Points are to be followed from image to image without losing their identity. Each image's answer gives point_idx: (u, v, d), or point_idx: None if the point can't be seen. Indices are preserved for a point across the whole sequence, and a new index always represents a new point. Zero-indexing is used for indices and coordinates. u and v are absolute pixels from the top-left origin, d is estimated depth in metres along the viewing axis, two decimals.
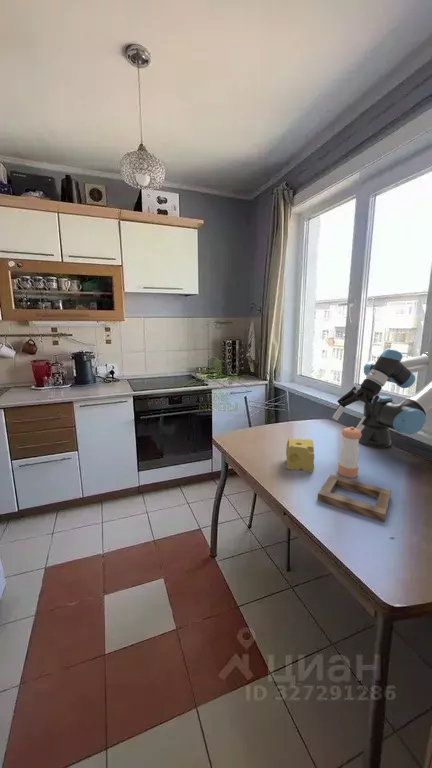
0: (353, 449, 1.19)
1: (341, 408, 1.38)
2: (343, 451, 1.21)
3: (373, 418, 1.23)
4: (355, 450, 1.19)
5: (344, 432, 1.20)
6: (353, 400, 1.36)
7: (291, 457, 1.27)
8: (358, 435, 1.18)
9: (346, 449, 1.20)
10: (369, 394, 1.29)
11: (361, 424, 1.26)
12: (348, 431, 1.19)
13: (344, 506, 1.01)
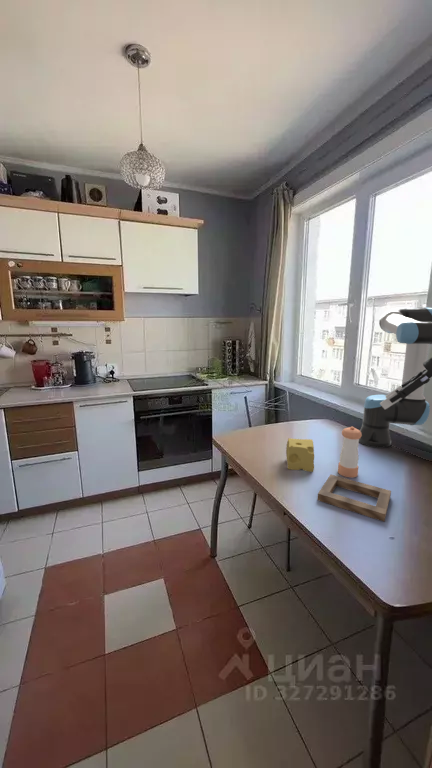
0: (353, 449, 1.19)
1: None
2: (343, 451, 1.21)
3: None
4: (355, 450, 1.19)
5: (344, 432, 1.20)
6: None
7: (291, 457, 1.27)
8: (358, 435, 1.18)
9: (346, 449, 1.20)
10: None
11: None
12: (348, 431, 1.19)
13: (344, 506, 1.01)
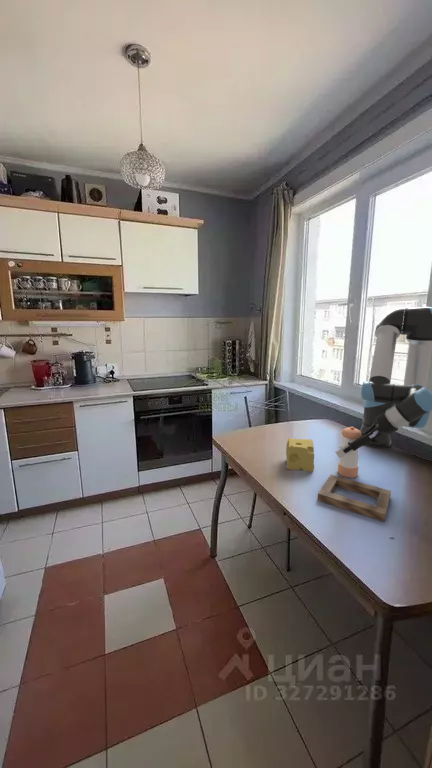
0: None
1: None
2: None
3: None
4: (355, 450, 1.19)
5: (344, 432, 1.20)
6: None
7: (291, 457, 1.27)
8: (358, 435, 1.18)
9: None
10: None
11: None
12: (348, 431, 1.19)
13: (344, 506, 1.01)
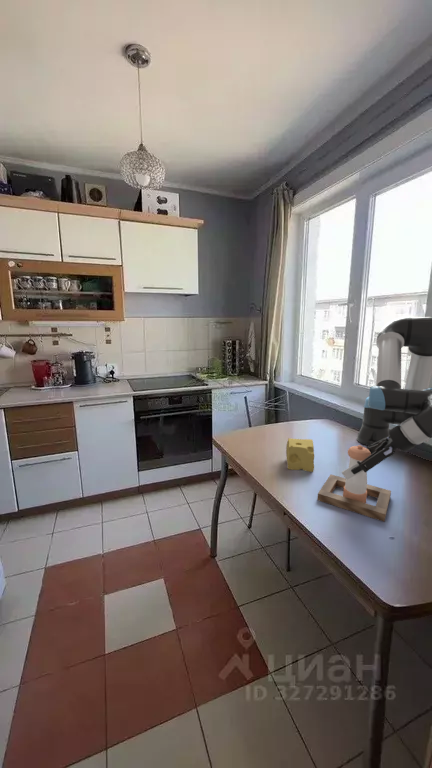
0: (361, 472, 1.01)
1: None
2: None
3: None
4: (363, 473, 1.02)
5: (350, 452, 1.02)
6: None
7: (291, 457, 1.27)
8: (367, 456, 1.00)
9: None
10: None
11: None
12: (355, 451, 1.01)
13: (344, 506, 1.01)
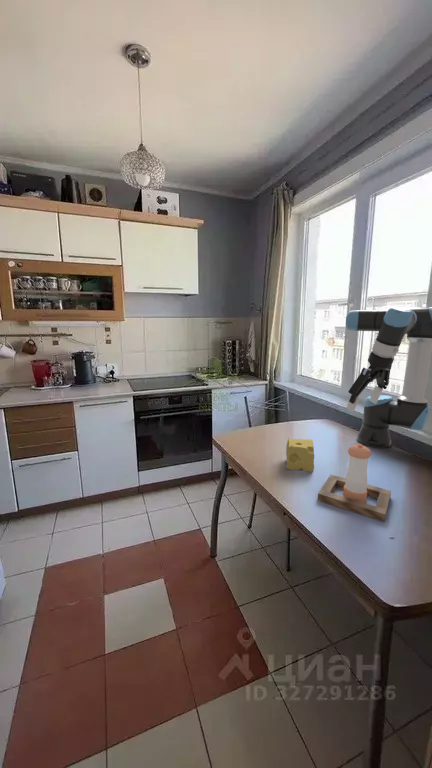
0: (362, 470, 1.02)
1: None
2: (349, 472, 1.04)
3: None
4: (364, 472, 1.02)
5: (351, 450, 1.03)
6: None
7: (291, 457, 1.27)
8: (367, 454, 1.01)
9: (353, 470, 1.03)
10: (384, 368, 1.10)
11: None
12: (355, 449, 1.02)
13: (344, 506, 1.01)
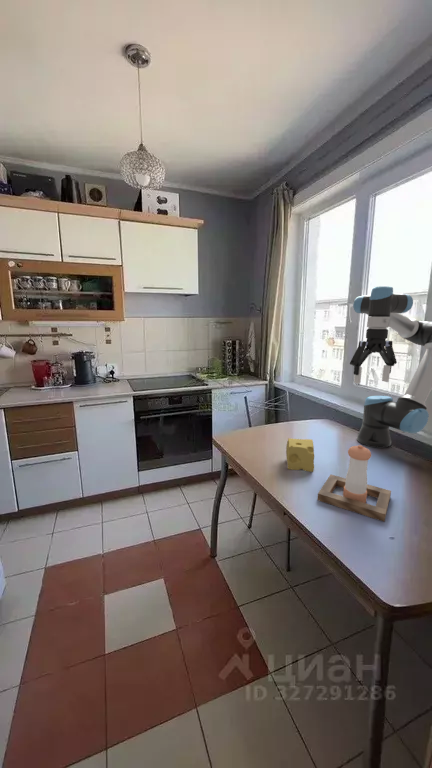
0: (362, 472, 1.01)
1: None
2: (349, 474, 1.04)
3: None
4: (364, 473, 1.02)
5: (351, 452, 1.02)
6: None
7: (291, 457, 1.27)
8: (367, 456, 1.00)
9: (353, 471, 1.03)
10: (383, 343, 1.22)
11: None
12: (355, 451, 1.01)
13: (344, 506, 1.01)
